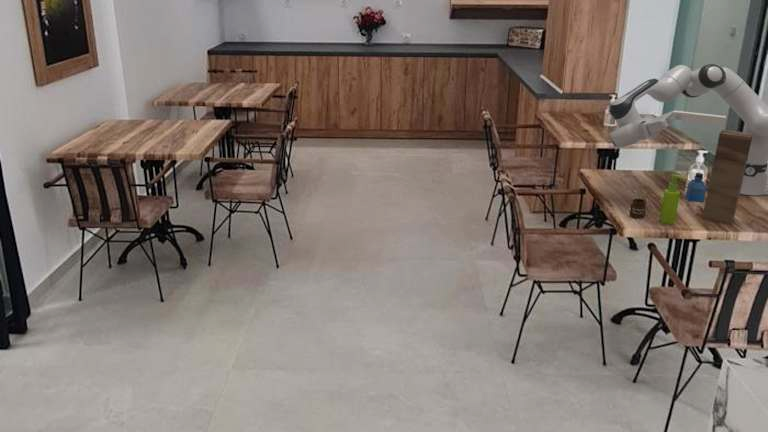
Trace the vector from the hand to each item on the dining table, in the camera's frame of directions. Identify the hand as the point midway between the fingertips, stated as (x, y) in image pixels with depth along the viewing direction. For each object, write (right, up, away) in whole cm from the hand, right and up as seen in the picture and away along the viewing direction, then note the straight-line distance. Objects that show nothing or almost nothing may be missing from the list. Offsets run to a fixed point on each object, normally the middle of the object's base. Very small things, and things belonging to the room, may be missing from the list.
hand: (681, 114), depth 267 cm
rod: (+5, -3, -3) cm, 7 cm away
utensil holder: (-16, -42, +6) cm, 45 cm away
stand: (+17, -42, +5) cm, 46 cm away
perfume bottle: (+18, -34, +27) cm, 47 cm away
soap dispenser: (-5, -44, +1) cm, 44 cm away
